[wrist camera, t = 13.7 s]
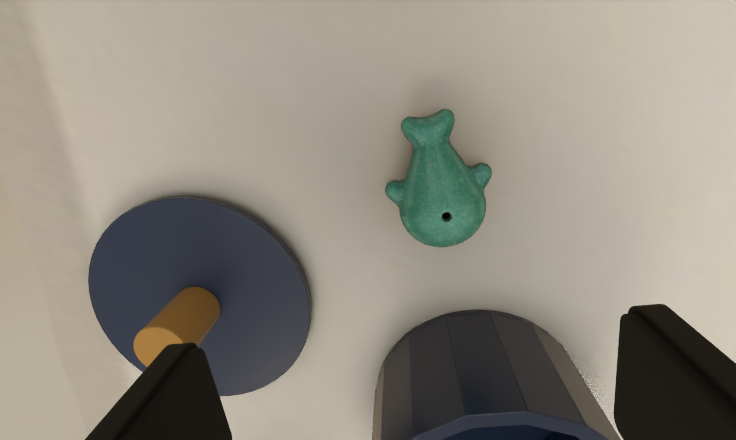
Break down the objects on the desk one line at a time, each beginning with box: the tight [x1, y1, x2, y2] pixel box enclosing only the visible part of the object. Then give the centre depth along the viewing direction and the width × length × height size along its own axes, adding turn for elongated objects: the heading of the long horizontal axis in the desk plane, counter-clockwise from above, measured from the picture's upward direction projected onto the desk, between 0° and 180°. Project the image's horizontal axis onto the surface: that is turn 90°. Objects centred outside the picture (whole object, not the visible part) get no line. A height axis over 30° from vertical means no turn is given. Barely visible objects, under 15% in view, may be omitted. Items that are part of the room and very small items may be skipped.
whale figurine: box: [385, 109, 492, 247], centre depth 21 cm, size 6×7×4 cm
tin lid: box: [88, 196, 311, 396], centre depth 24 cm, size 15×15×6 cm
